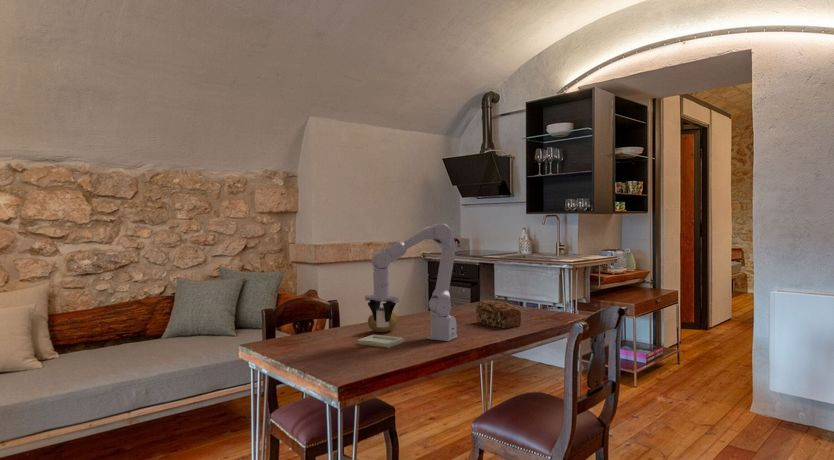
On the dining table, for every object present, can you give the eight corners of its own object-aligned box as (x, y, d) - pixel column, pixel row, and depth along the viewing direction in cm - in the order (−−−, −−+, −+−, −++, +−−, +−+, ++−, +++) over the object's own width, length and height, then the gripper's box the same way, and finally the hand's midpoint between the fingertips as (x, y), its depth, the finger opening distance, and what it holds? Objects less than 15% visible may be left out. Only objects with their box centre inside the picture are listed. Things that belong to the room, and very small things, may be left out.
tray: (403, 342, 187) (403, 338, 187) (388, 348, 178) (387, 343, 178) (373, 338, 194) (373, 334, 194) (357, 344, 186) (357, 339, 186)
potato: (404, 331, 207) (404, 311, 207) (375, 336, 198) (375, 316, 198) (391, 327, 215) (390, 309, 214) (363, 332, 206) (362, 313, 206)
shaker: (391, 325, 186) (391, 307, 186) (383, 327, 182) (383, 309, 183) (381, 324, 189) (381, 306, 189) (373, 326, 185) (373, 308, 185)
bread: (475, 322, 221) (474, 300, 221) (494, 319, 226) (493, 297, 226) (503, 329, 205) (502, 305, 205) (522, 326, 210) (522, 302, 210)
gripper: (359, 284, 186) (360, 321, 186) (390, 286, 178) (391, 324, 178) (370, 282, 192) (371, 318, 192) (402, 284, 184) (402, 321, 184)
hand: (382, 321), depth 186 cm, fingers closed on shaker, 5 cm apart
